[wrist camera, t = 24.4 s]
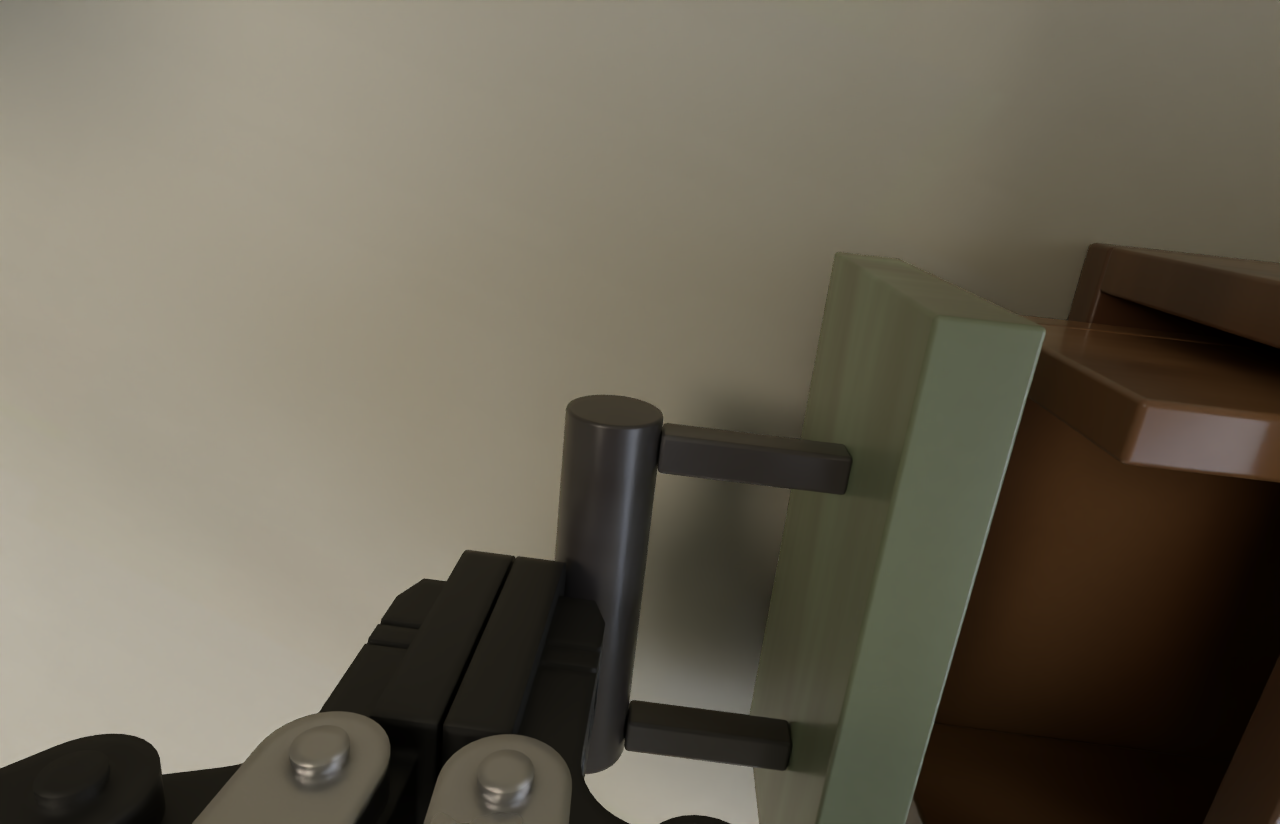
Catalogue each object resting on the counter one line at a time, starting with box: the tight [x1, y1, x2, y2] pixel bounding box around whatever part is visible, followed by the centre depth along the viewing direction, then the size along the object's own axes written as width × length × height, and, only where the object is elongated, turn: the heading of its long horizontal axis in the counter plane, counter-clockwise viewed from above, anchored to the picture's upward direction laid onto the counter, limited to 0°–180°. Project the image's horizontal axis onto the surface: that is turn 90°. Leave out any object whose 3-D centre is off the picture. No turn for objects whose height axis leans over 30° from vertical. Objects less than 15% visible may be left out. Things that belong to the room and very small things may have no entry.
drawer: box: [555, 252, 1280, 824], centre depth 12 cm, size 17×10×6 cm, turn 84°
